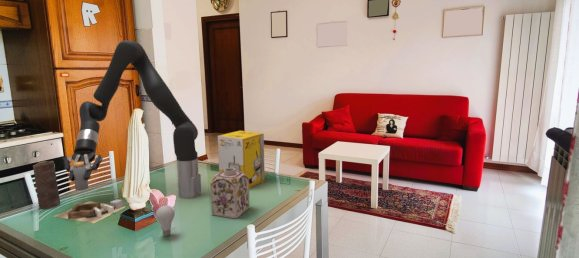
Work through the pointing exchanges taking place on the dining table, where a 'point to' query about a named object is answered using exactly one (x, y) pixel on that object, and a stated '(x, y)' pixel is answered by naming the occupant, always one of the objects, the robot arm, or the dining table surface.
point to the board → (90, 220)
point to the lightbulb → (165, 218)
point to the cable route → (106, 209)
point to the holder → (78, 213)
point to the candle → (46, 184)
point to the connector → (80, 176)
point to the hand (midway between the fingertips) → (79, 179)
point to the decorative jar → (229, 193)
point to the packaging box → (243, 154)
